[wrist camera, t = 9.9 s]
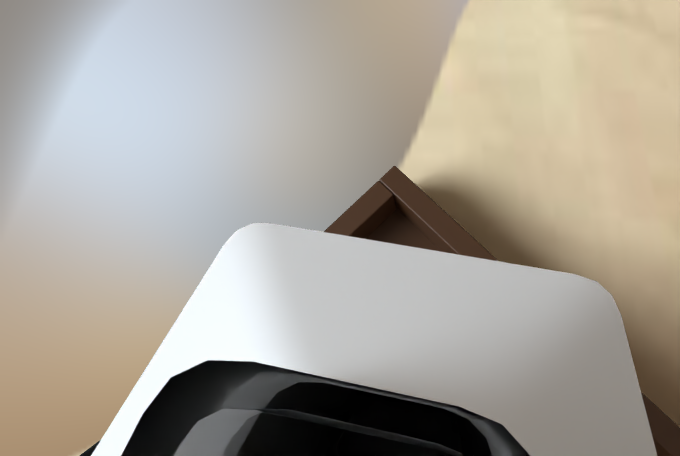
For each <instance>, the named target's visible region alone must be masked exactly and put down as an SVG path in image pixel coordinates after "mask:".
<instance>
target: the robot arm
mask: <svg viewBox="0 0 680 456" xmlns="http://www.w3.org/2000/svg"><path fill="white" fill-rule="evenodd" d="M100 441H101V440H100ZM100 441H98V442H97V443H96V444H94V445H93V446H92V447H90V448H89V449H88V450H86V451H85V452H84V453H82V454H81V455H80V456H91V455H92V453H93V452H94V450H95V449H96V447H97V445H98V444H99V442H100Z"/></svg>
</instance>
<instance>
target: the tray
mask: <svg viewBox="0 0 680 456" xmlns="http://www.w3.org/2000/svg"><path fill="white" fill-rule="evenodd" d="M324 232H327V233H333V234H339V235H345V236H350V237H356V238H362V239H368V240H374V241H380V242H386V243H392V244H398V245H404V246H410V247H416V248H422V249H428V250H434V251H440V252H446V253H452V254H458V255H464V256H470V257H476V258H482V259H488V260H494V261H498V260H497V259H496V258H495V257H494V256H493V255H492V254H490V253H489V252H488V251H487V250H486V249H485V248H484V247H483V246H482V245H481V244H480V243H478V242H477V241H476V240H475V239H474V238H473V237H472V236H471V235H470V234H469V233H468V232H467V231H465V230H464V229H463V228H462V227H461V226H460V225H459V224H458V223H457V222H456V221H455V220H453V219H452V218H451V217H450V216H449V215H448V214H447V213H446V212H445V211H444V210H443V209H442V208H440V207H439V206H438V205H437V204H436V203H435V202H434V201H433V200H432V199H431V198H430V197H428V196H427V195H426V194H425V193H424V192H423V191H422V190H421V189H420V188H419V187H418V186H417V185H415V184H414V183H413V182H412V181H411V180H410V179H409V178H408V177H407V176H406V175H405V174H403V173H402V172H401V171H400V170H399V169H398V168H397V167H396V166H393V167H392V168H391V169H390V170H389V171H388V172H387V173H386V174H385V175H384V176H383V177H382V178H381V179H380V181H378V182H376V183H375V184H374V185H373V186H372V187H371V188H370V189H369V190H368V191H367V192H366V193H365V194H364V195H363V196H361V197H360V198H359V199H358V200H357V201H356V202H355V203H354V204H353V205H352V206H351V207H350V208H349V209H348V210H347V211H345V212H344V213H343V214H342V215H341V216H340V217H339V218H338V219H337V220H336V221H335V222H334V223H333V224H332V225H330V226H329V227H328V228H327V229H326V230H325V231H324ZM641 394H642V398H643V402H644V406H645V410H646V414H647V417H648V421H649V425H650V429H651V433H652V437H653V441H654V445H655V449H656V452H657V456H680V427H678V426H677V425H676V424H675V423H674V422H673V421H672V420H671V419H670V418H669V417H668V416H667V415H665V414H664V413H663V412H662V411H661V410H660V409H659V408H658V407H657V406H656V405H655V404H653V403H652V402H651V401H650V400H649V399H648V398H647V397H646V396H645V395H644V394H643V393H642V392H641Z"/></svg>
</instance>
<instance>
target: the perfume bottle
mask: <svg viewBox="0 0 680 456" xmlns="http://www.w3.org/2000/svg"><path fill="white" fill-rule="evenodd" d="M91 456H657V452H656V449H655V445H654V441H653V437H652V433H651V429H650V425H649V421H648V417H647V414H646V410H645V406H644V402H643V398H642V394H641V390H640V386H639V383H638V379H637V375H636V371H635V367H634V363H633V359H632V355H631V351H630V348H629V344H628V340H627V336H626V332H625V328H624V324H623V320H622V316H621V314H620V312H619V309H618V307H617V305H616V303H615V301H614V298H613V296H612V295H611V294H610V293H609V292H608V291H607V290H606V289H605V288H603V287H602V286H601V285H600V284H599V283H598V282H597V281H594V280H591V279H588V278H585V277H582V276H579V275H576V274H571V273H565V272H559V271H553V270H547V269H541V268H535V267H529V266H523V265H517V264H511V263H506V262H500V261H494V260H488V259H482V258H476V257H470V256H464V255H458V254H452V253H446V252H440V251H434V250H428V249H422V248H416V247H410V246H404V245H398V244H392V243H386V242H380V241H374V240H368V239H362V238H356V237H350V236H345V235H339V234H333V233H327V232H320V231H314V230H309V229H303V228H297V227H291V226H285V225H279V224H272V223H252V224H249V225H247V226H245V227H243V228H241V229H239V230H237V231H236V232H235V233H234V234H233V235H232V236H231V237H230V238H229V239H228V241H227V242H226V243H225V244H224V245H223V247H222V248H221V250H220V252H219V253H218V255H217V257H216V258H215V260H214V261H213V263H212V264H211V266H210V268H209V269H208V271H207V273H206V274H205V275H204V277H203V279H202V280H201V282H200V283H199V285H198V287H197V288H196V290H195V292H194V293H193V295H192V296H191V298H190V299H189V301H188V302H187V304H186V306H185V307H184V309H183V310H182V312H181V314H180V315H179V317H178V318H177V320H176V322H175V323H174V325H173V326H172V328H171V329H170V331H169V333H168V334H167V336H166V337H165V339H164V341H163V342H162V344H161V345H160V347H159V349H158V350H157V352H156V354H155V355H154V357H153V358H152V360H151V361H150V363H149V364H148V366H147V368H146V369H145V371H144V373H143V374H142V376H141V377H140V379H139V380H138V382H137V384H136V385H135V387H134V389H133V390H132V392H131V393H130V395H129V396H128V398H127V399H126V401H125V403H124V404H123V406H122V407H121V409H120V411H119V412H118V414H117V415H116V417H115V419H114V420H113V422H112V423H111V425H110V426H109V428H108V430H107V431H106V433H105V434H104V436H103V438H102V439H101V441H100V442H99V444H98V445H97V447H96V449H95V450H94V452H93V453H92V455H91Z"/></svg>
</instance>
